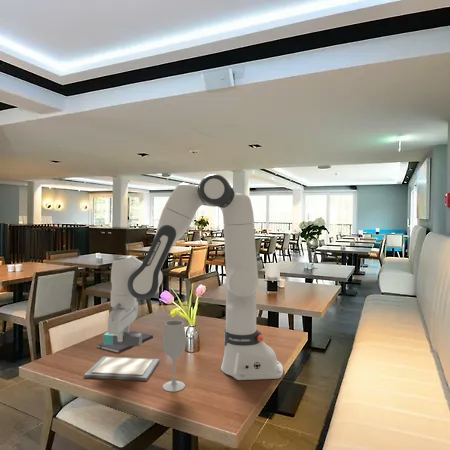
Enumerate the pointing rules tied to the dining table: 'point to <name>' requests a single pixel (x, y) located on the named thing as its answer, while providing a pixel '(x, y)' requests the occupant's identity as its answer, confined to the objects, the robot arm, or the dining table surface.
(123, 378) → the notepad
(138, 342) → the marker
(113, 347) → the notebook
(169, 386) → the wineglass
